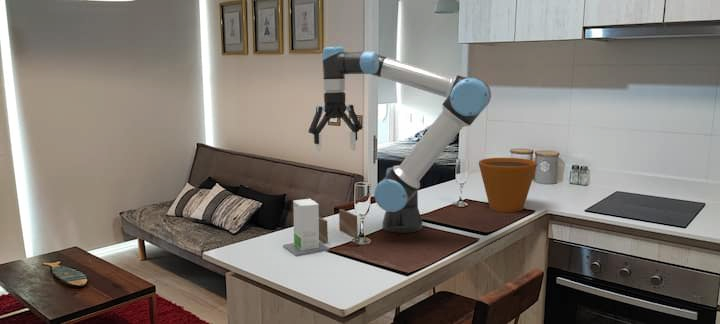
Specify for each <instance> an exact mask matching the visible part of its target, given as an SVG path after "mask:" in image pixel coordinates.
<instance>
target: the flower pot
mask: <svg viewBox="0 0 720 324" xmlns="http://www.w3.org/2000/svg"><path fill="white" fill-rule="evenodd" d="M537 165H538V163H537V161H536V160H533V159H528V158H522V157H521V158H519V157H490V158H488V157H487V158H484V159H480V160H479V161H478V166H479V170H480V174H481V178H482V182H483V185H484V189H485V190H484V191H485V194H486V198H487V202H488V206H489V208H490V210H491V211H495V212H499V213H500V212H501V213H513V212H520V211H522V210H523V209H524V207H525V204H526V200H527V197H528V195H529V192H530V190H531V189H530V188H531V184H532V182H533V180H534V175H535V172H536V169H537Z"/></svg>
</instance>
